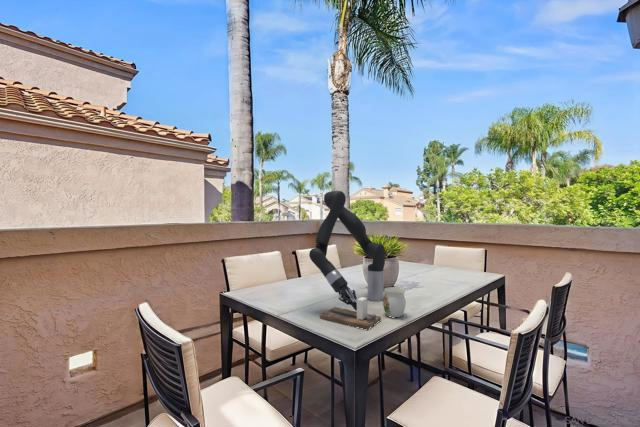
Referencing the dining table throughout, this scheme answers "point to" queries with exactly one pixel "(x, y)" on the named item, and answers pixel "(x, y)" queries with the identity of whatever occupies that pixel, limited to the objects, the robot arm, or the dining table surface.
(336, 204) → the robot arm
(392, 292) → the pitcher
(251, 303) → the dining table surface
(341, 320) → the board
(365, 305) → the slider tab
